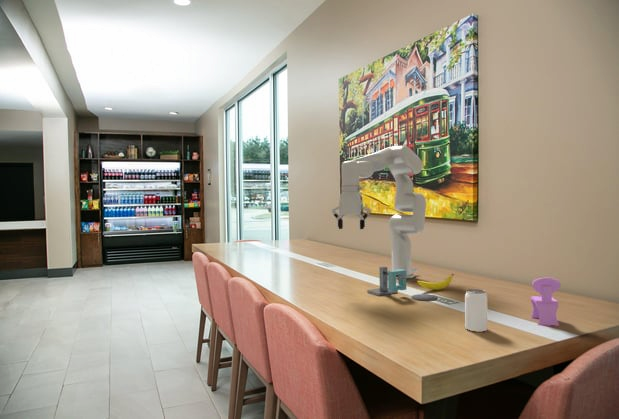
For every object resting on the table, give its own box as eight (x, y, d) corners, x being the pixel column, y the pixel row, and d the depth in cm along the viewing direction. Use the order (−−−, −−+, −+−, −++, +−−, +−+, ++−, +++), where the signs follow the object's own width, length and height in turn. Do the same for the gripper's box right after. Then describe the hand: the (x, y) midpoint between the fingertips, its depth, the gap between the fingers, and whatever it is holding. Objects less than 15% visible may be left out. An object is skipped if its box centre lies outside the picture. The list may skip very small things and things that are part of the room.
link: (401, 288, 184) (401, 269, 184) (406, 289, 182) (406, 270, 181) (388, 290, 181) (388, 270, 181) (393, 291, 178) (392, 272, 178)
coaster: (424, 294, 186) (424, 293, 186) (442, 298, 177) (442, 297, 177) (406, 297, 181) (406, 296, 181) (423, 302, 172) (423, 301, 172)
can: (461, 326, 141) (461, 289, 140) (481, 325, 141) (481, 288, 141) (470, 333, 134) (470, 293, 134) (491, 332, 135) (491, 292, 134)
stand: (385, 289, 196) (385, 264, 196) (413, 297, 180) (413, 270, 180) (367, 292, 191) (366, 266, 191) (394, 300, 176) (393, 272, 175)
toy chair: (554, 318, 148) (554, 273, 147) (563, 326, 139) (563, 278, 139) (527, 317, 150) (527, 273, 149) (534, 324, 141) (534, 278, 140)
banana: (415, 291, 191) (415, 277, 191) (451, 287, 198) (451, 273, 197) (419, 293, 188) (418, 278, 188) (455, 288, 195) (455, 274, 195)
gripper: (372, 189, 193) (372, 228, 193) (335, 190, 200) (335, 228, 200) (367, 189, 186) (367, 229, 186) (328, 190, 193) (329, 229, 193)
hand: (351, 228), depth 193 cm, fingers open, 9 cm apart
